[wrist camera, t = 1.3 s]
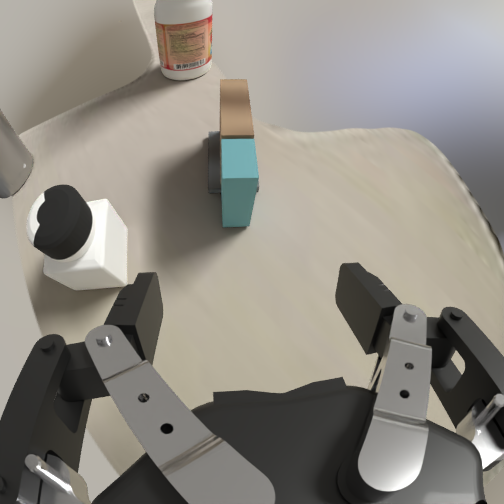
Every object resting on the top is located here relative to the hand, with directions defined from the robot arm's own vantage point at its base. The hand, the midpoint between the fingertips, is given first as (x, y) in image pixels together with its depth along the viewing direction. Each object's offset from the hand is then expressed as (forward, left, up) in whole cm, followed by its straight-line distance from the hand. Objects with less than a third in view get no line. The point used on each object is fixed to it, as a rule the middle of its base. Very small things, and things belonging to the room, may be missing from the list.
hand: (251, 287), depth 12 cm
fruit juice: (-28, +35, -17) cm, 48 cm away
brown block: (-10, +18, -17) cm, 27 cm away
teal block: (-6, +12, -17) cm, 21 cm away
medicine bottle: (-17, -1, -18) cm, 25 cm away
